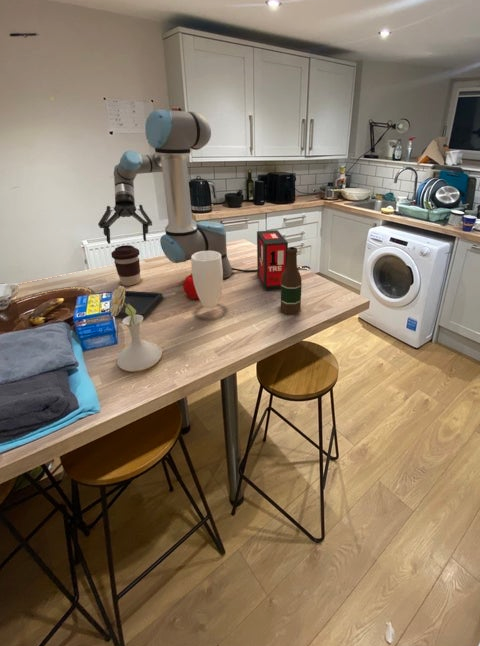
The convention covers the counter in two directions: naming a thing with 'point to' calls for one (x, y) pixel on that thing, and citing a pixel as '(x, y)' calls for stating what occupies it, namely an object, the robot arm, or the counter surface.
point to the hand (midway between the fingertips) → (126, 241)
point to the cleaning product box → (271, 258)
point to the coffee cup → (127, 264)
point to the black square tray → (140, 303)
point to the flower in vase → (134, 338)
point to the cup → (207, 276)
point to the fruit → (190, 287)
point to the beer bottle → (291, 285)
